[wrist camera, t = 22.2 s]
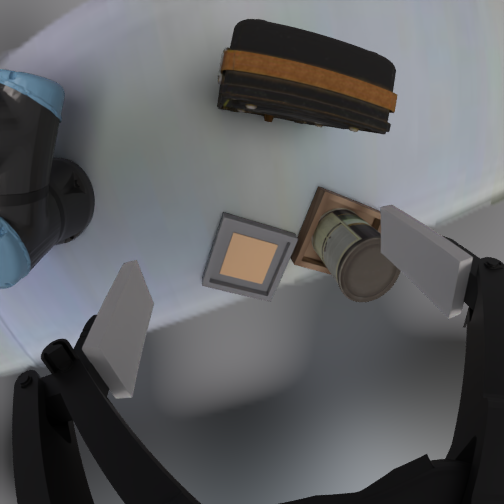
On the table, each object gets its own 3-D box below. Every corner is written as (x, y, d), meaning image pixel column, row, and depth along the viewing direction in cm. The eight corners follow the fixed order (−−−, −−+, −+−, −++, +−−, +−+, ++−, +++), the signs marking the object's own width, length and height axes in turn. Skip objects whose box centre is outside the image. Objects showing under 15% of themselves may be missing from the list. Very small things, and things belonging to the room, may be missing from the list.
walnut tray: (289, 255, 55) (294, 264, 52) (318, 186, 50) (325, 191, 47) (350, 272, 58) (357, 281, 55) (379, 211, 53) (388, 217, 50)
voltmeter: (213, 114, 43) (212, 107, 21) (222, 62, 40) (231, 7, 17) (310, 130, 46) (393, 147, 23) (319, 81, 42) (407, 59, 20)
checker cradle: (202, 278, 55) (201, 285, 52) (223, 212, 50) (223, 217, 48) (268, 294, 58) (270, 301, 56) (294, 233, 53) (298, 238, 51)
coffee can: (355, 198, 51) (397, 226, 38) (367, 247, 55) (405, 284, 42) (302, 220, 51) (331, 256, 39) (319, 268, 56) (347, 313, 43)
